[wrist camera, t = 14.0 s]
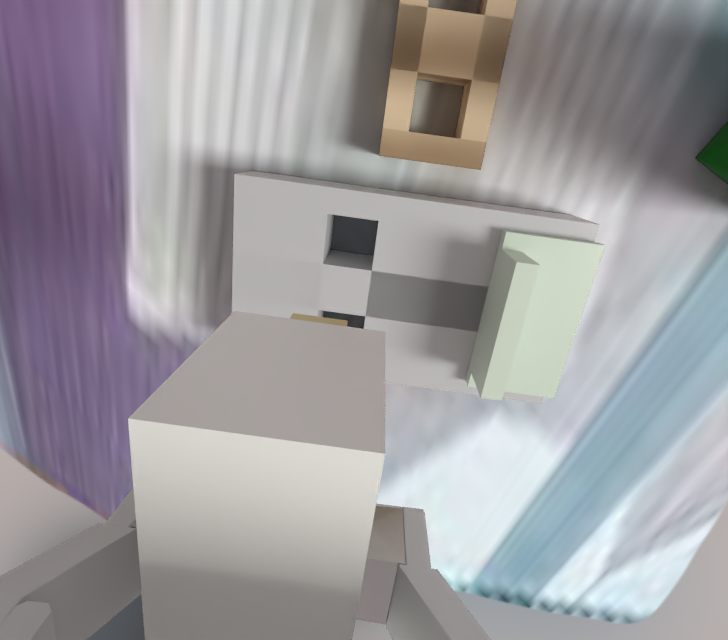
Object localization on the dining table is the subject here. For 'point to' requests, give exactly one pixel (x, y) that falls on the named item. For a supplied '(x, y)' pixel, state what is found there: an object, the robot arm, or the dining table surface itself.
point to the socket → (381, 266)
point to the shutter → (531, 313)
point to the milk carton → (717, 154)
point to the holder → (446, 77)
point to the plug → (260, 481)
